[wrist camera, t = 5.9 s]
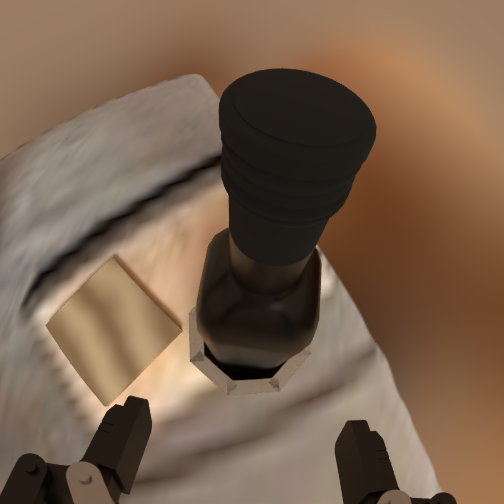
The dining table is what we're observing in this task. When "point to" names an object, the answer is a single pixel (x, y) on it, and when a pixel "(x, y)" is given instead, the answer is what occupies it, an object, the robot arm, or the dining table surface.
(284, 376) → the wooden sleeve
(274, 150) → the wine bottle
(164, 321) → the oak board
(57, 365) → the dining table surface
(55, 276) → the dining table surface
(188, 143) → the dining table surface
